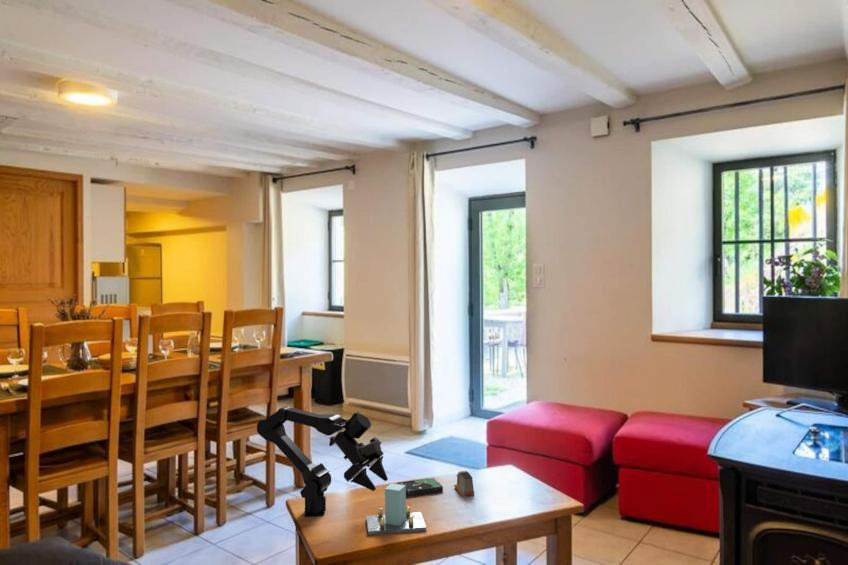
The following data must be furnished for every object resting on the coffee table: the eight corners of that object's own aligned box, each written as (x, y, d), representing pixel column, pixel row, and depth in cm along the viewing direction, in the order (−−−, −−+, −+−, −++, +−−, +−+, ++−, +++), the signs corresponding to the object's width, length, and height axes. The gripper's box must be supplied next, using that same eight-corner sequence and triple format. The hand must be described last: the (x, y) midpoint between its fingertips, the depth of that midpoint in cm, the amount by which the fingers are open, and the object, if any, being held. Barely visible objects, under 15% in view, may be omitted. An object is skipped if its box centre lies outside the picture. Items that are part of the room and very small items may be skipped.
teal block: (385, 523, 182) (384, 488, 182) (391, 517, 187) (391, 483, 187) (399, 525, 180) (399, 490, 180) (405, 519, 185) (405, 485, 185)
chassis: (368, 535, 176) (368, 522, 176) (366, 519, 188) (366, 507, 188) (426, 531, 179) (426, 518, 179) (420, 515, 191) (420, 503, 191)
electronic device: (464, 486, 217) (464, 466, 217) (475, 495, 208) (474, 475, 208) (453, 488, 216) (453, 468, 216) (463, 497, 207) (463, 476, 207)
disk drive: (405, 499, 207) (443, 493, 212) (404, 491, 207) (443, 485, 212) (396, 489, 217) (433, 484, 221) (396, 482, 216) (433, 476, 221)
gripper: (352, 439, 178) (385, 479, 175) (378, 424, 196) (408, 460, 192) (330, 461, 181) (361, 501, 177) (357, 445, 199) (386, 481, 195)
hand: (380, 485), depth 185 cm, fingers open, 9 cm apart
